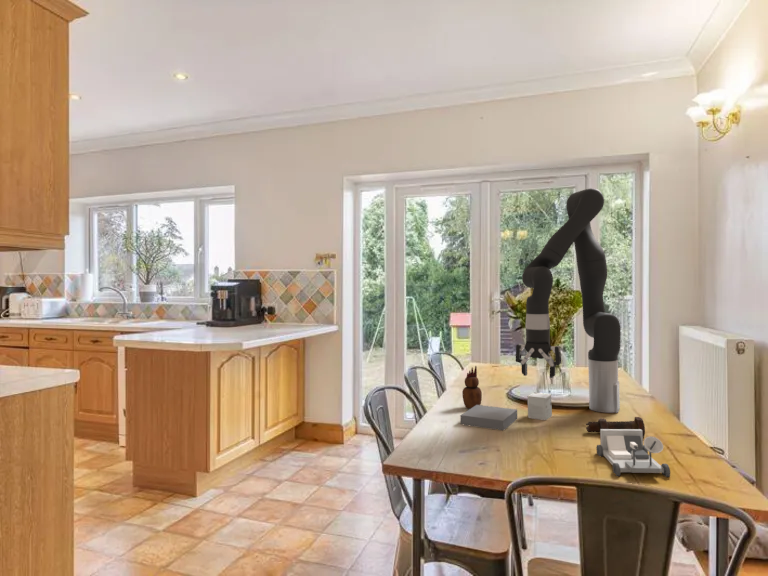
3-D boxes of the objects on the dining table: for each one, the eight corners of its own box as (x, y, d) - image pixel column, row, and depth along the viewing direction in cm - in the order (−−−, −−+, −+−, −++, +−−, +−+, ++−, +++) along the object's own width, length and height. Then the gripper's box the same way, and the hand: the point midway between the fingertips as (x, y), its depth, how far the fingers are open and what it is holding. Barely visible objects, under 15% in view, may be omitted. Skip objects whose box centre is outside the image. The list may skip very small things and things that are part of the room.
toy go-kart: (675, 440, 108) (620, 440, 109) (676, 484, 108) (621, 483, 109) (642, 417, 126) (595, 417, 127) (643, 454, 126) (596, 454, 127)
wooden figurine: (481, 405, 177) (480, 364, 177) (482, 410, 171) (481, 367, 171) (462, 405, 177) (461, 364, 177) (463, 410, 172) (462, 367, 171)
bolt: (586, 439, 144) (642, 439, 140) (589, 435, 139) (646, 435, 136) (584, 419, 146) (638, 419, 143) (586, 414, 142) (642, 414, 139)
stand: (517, 418, 160) (517, 409, 160) (503, 430, 148) (503, 420, 148) (476, 413, 167) (476, 404, 167) (460, 424, 155) (460, 415, 155)
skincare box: (546, 420, 156) (545, 398, 156) (527, 418, 160) (526, 395, 160) (552, 416, 161) (551, 394, 161) (534, 413, 165) (533, 391, 165)
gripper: (562, 327, 160) (563, 376, 160) (519, 325, 167) (520, 372, 167) (557, 329, 153) (558, 380, 154) (512, 327, 161) (513, 376, 161)
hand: (538, 376), depth 160 cm, fingers open, 8 cm apart
